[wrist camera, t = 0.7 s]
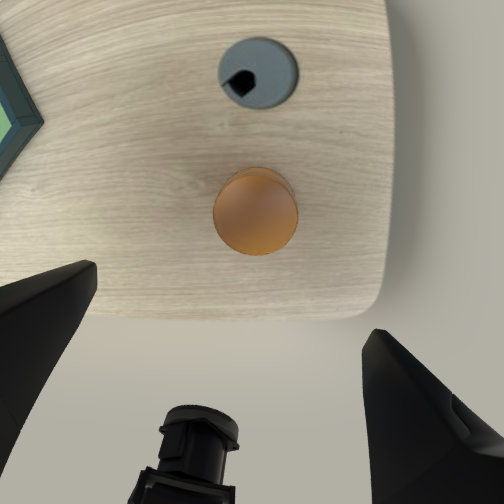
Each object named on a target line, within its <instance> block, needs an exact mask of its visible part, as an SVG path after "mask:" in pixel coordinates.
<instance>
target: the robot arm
mask: <svg viewBox="0 0 504 504" xmlns="http://www.w3.org/2000/svg"><path fill="white" fill-rule="evenodd" d="M96 290H97V265H96V263H95V262H92V261H88V260H81V261H78V262H75V263H72V264H69V265H65V266H62V267H59V268H56V269H53V270H50V271H47V272H43V273H40V274H37V275H34V276H31V277H28V278H25V279H22V280H19V281H16V282H13V283H10V284H7V285H4V286H1V287H0V477H1V474H2V472H3V469H4V467H5V465H6V463H7V460H8V458H9V456H10V453H11V451H12V449H13V447H14V445H15V442H16V440H17V438H18V436H19V434H20V430H21V429H22V427H23V425H24V423H25V421H26V419H27V417H28V415H29V413H30V411H31V409H32V407H33V405H34V403H35V401H36V400H37V398H38V396H39V394H40V392H41V390H42V388H43V387H44V385H45V383H46V381H47V379H48V377H49V376H50V374H51V372H52V370H53V368H54V367H55V365H56V364H57V362H58V360H59V358H60V357H61V355H62V353H63V352H64V350H65V348H66V347H67V345H68V343H69V342H70V340H71V338H72V337H73V335H74V333H75V332H76V330H77V328H78V327H79V324H80V323H81V321H82V318H83V317H84V315H85V312H86V310H87V308H88V306H89V304H90V302H91V300H92V298H93V296H94V294H95V292H96ZM362 380H363V381H362V382H363V398H364V407H365V416H366V425H367V436H368V447H369V459H370V472H371V489H372V504H504V438H503V437H502V436H500V435H499V434H498V433H497V432H496V431H494V429H492V428H491V427H490V426H489V425H488V424H487V423H485V422H484V421H483V420H482V419H481V418H479V417H478V416H477V415H476V414H475V413H474V412H472V411H471V410H470V409H469V408H468V407H467V406H466V405H465V404H464V403H463V402H461V400H459V398H458V397H457V396H455V395H454V394H452V392H451V391H450V390H449V389H448V388H447V387H446V386H445V385H444V384H443V383H442V382H441V381H440V380H439V379H438V378H437V377H436V376H434V375H433V374H432V373H431V372H430V371H429V370H428V369H427V368H426V367H425V366H424V365H423V364H422V363H421V362H420V361H419V360H417V359H416V358H415V357H414V356H413V355H412V354H411V353H410V352H409V351H408V350H407V349H406V348H405V347H404V346H402V345H401V344H400V343H399V342H398V341H397V340H396V339H395V338H394V337H393V336H391V334H389V333H388V332H387V331H386V330H381V329H374V330H373V331H372V333H371V334H370V336H369V338H368V340H367V341H366V343H365V345H364V347H363V349H362ZM159 431H160V432H161V433H162V434H163V435H164V438H163V441H162V444H161V448H160V451H159V454H158V458H159V459H160V461H159V465H158V468H157V470H155V469H152V467H148V466H147V467H146V470H141V472H140V475H139V478H138V481H137V484H136V486H135V488H134V490H133V492H132V494H131V496H130V498H129V499H128V503H127V504H235V486H231V485H230V486H225V485H222V484H223V477H224V470H225V463H226V456H227V452H229V451H235V450H239V444H238V443H236V442H235V441H234V440H232V439H231V438H230V437H229V436H227V435H226V434H225V433H224V432H222V431H221V430H220V429H219V428H217V427H216V426H215V425H214V424H213V423H211V422H210V421H209V420H208V419H206V418H203V417H202V418H197V419H193V420H188V421H184V422H179V423H174V424H170V425H165V426H160V428H159Z"/></svg>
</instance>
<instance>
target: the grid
mask: <svg viewBox="0 0 504 504" xmlns="http://www.w3.org/2000/svg"><path fill="white" fill-rule="evenodd" d="M43 123H44V121H43V119H42V118H41V116H40V114H39V112H38V110H37V109H36V107H35V105H34V103H33V101H32V99H31V97H30V96H29V94H28V92H27V90H26V88H25V86H24V84H23V82H22V80H21V78H20V76H19V74H18V72H17V70H16V68H15V66H14V64H13V62H12V60H11V58H10V55H9V53H8V51H7V49H6V47H5V45H4V42H3V40H2V38H1V35H0V180H1V179H2V177H3V176H4V174H5V173H6V171H7V170H8V168H9V167H10V166H11V164H12V163H13V161H14V160H15V159H16V157H17V156H18V155H19V153H20V152H21V151H22V149H23V148H24V147H25V145H26V144H27V143H28V142H29V140H30V139H31V138H32V137H33V135H34V134H35V133H36V132H37V130H38V129H39V128H40V127H41V126H42V124H43Z"/></svg>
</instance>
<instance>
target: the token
mask: <svg viewBox="0 0 504 504" xmlns="http://www.w3.org/2000/svg"><path fill="white" fill-rule="evenodd" d="M213 220H214V225H215V228H216V230H217V233H218V234H219V236H220V237H221V239H222V240H223V241H224V242H225V243H226V244H227V245H228V246H229V247H231V248H232V249H234V250H236V251H238V252H240V253H243V254H247V255H255V256H257V255H266V254H269V253H272V252H275V251H277V250H278V249H280V248H282V247H283V246H284V245H285V244H286V243H287V242H288V241H289V240H290V239H291V237H292V236H293V234H294V232H295V230H296V227H297V222H298V210H297V205H296V200H295V196H294V193H293V190H292V188H291V186H290V185H289V183H288V182H287V181H286V180H285V179H284V178H283V177H282V176H281V175H279V174H278V173H276V172H274V171H272V170H269V169H265V168H249V169H245V170H242V171H240V172H238V173H236V174H235V175H233V176H232V177H231V178H230V179H229V180H228V181H227V183H226V184H225V186H224V187H223V189H222V190H221V192H220V193H219V195H218V197H217V199H216V201H215V204H214V209H213Z"/></svg>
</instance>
